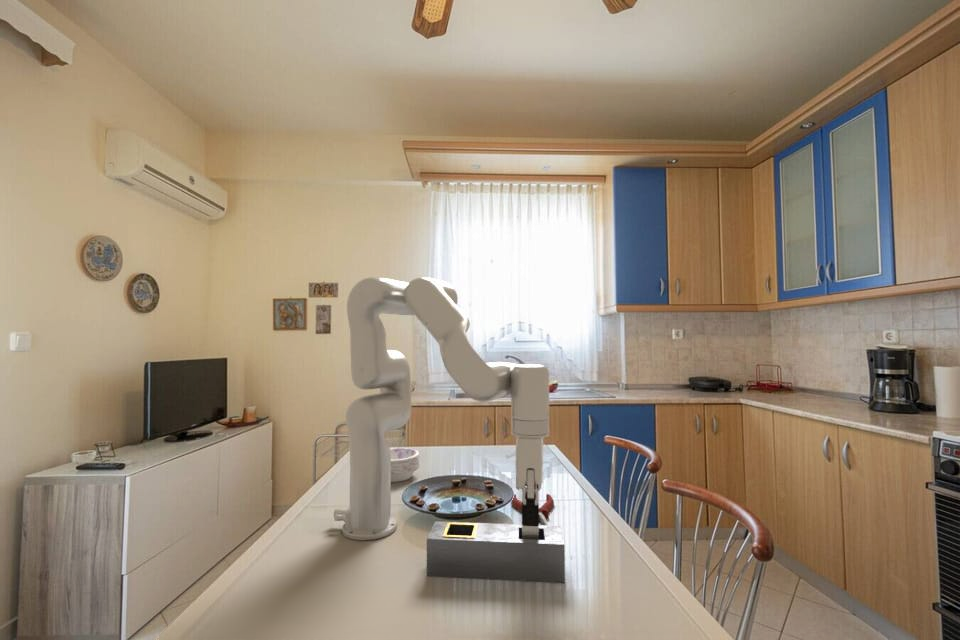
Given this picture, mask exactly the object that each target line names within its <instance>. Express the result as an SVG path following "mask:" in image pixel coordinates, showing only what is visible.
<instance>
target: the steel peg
mask: <svg viewBox="0 0 960 640" xmlns="http://www.w3.org/2000/svg"><path fill="white" fill-rule="evenodd" d="M525 488H527V485H525ZM534 488H536V485H535V486H534ZM539 493H540V490H539V491H538V504H539V505H540V503H539V502H540V501H539V499H540V495H539ZM526 494H527V492H526ZM534 494H535V492H534ZM521 502H522V504H523V488H522V489H521ZM521 525H522V524H521ZM539 525H540V524H539ZM539 525H538V526H523V525H522V539H532V540H539Z"/></svg>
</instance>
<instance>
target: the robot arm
mask: <svg viewBox="0 0 960 640" xmlns="http://www.w3.org/2000/svg"><path fill="white" fill-rule="evenodd" d="M382 314H386V315H398V316H415V317H416V318H417V319H418V321H420V323H421V324H422V325H423V326H424V327H425V329H426V330H427V331H428V333H429V334H430V335H431V336H432V338H433V339H434V340H435V341H436V343H437V344H438V346H439V354H440V357H441V361H442V362H443V366H444V368H445V370H446V371H447V373H448V375H449V376H450V377H451V378H452V379H453V381H454V382H455V384H457V386H458V387H459V388H460V389H461V391H463V393H465V395H466V396H468V397H469V398H470V399H472V400H473V401H475V402H479V403H488V402H492V401H495V400H498V399H503V398H506V397H507V398H508V397H510V400H511V401H510V407H511V409H510V413H511V414H510V419H511V420H510V422H511V423H510V431H511V432H510V434H511V436H513V437H516V439H515V489H516V490H517V491H520V490H522V488H523V504H522V512H521V525H523V526H538V525H540V521H539V508H540V503H539V504H538V491H539V492H540V490H542V483H543V467H544V438H547V437H549V436H550V371H549V369H548V367H547V366H546V365H543V364H539V363H538V364H537V363H520V364H517V363H511V362H505V361H495V362H493V361H492V362H485V359H483V358H482V357H481V356H480V354H478V353H477V351H476V350H475V348H474V347H473V346H472V344H471V343H470V341H469V340H468V336H467V332H468V331H469V329H470V326H471V325H470V324H471V322H470V319H469V317H467V316H466V315H465V313H464V312H463V311H462V310H461V309H460V308H459V306H458V294H457V291H456V290H455V288H454V287H453V286H452V285H451V284H450V283H449V282H447V281H444V280H440V279H435V278H431V277H423V276H422V277H421V276H419V277H416V278H414V279H412V280H410V281H409V282H406V281H401V280H395V279H392V278H386V277H381V276H380V277H379V276H378V277H376V276H371V277H365V278H364V279H363V278H362V279H361V280H360V281H358V282H357V283H355V285H353V287H352V288H351V290H350V292H349V294H348V297H347V302H346V315H347V321H348V326H349V327H348V328H349V335H350V336H349V337H350V341H349V342H350V344H349V348H350V373H351V379H352V382H353V385H354V386H355V387H356V388H358V389H360V390H364V391H365V390H374V389H375V390H376V389H379V393H373V394H369V395H363V396H360V397H358V398H356V399H354V400H353V401H352V402H351V403H350V405H348V408H347V409H346V413H345V424H346V429H347V433H348V440H349V441H348V443H349V507H347V509H344V508H334V511H333V518H334V521H335V522H339V521H340V522H342V521H343V522H344V523H343V525H342V529H341V530H342V534H343V536H345V538H348V539H350V540H355V541H371V540H377V539H380V538H385V537H387V536H389V535H391V534H392V533H394V532H395V530H396V529H397V527H398V520H397V519H396V517H394V516H393V515H391V509H392V507H391V505H392V504H391V500H392V499H391V495H392V494H391V493H392V492H391V483H392V482H391V452H390V449H391V448H390V444H389V441H388V439H387V437H386V434H385V433H386V432H391V431H394V430H396V429H398V428H399V429H400V428H401V427H403V426H405V425H406V424H407V422H408V421H409V419H410V417H411V414H412V387H411V386H412V383H411V379H412V378H411V369H410V365H409V362H408V359H407V357H406V356H405V355H404V354H403V353H401V352H400V351H399V350H396V349H387V348H388V347H387V333H386V328H385V325H384V322H383V321H382V320H381V318H380V315H382ZM525 485H527V488H525ZM535 485H536V488H534V486H535ZM526 492H527V494H526ZM534 492H535V494H534Z"/></svg>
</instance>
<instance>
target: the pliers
mask: <svg viewBox="0 0 960 640" xmlns="http://www.w3.org/2000/svg"><path fill="white" fill-rule="evenodd" d="M513 495H514V498H513V500H512V501H511V505H512V507H513V508H514V509H515V510H517V511H518V512H521V513H522V500H521V501H520V500H519V499H518V498H517V494H513ZM545 501H546V502H545V503H543V504H542V506H541V507H539V522H540V524H541V525H547V526H549V525H548V522H547V520H548V519H549V518H550V514H549V513H550V512H551V510H552V509H553V508H554V505H555V501H554V498H553V496H552V495H551V494H549V493H546V500H545Z"/></svg>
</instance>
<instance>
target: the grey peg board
mask: <svg viewBox="0 0 960 640" xmlns="http://www.w3.org/2000/svg"><path fill="white" fill-rule="evenodd" d="M547 525H548V524H547ZM547 525H542V524H541V525H540V524H539V540H532V539H522V523H521V524H517V523H492V522H490V523H489V522H464V521H463V522H462V521H460V522H459V521H439V520H438V521H436V520H435V521H434V523H433V524H432V528H431V529H430V531H429V533H428V534H427V535H428V536H427V538H426V577H435V578H449V579H450V578H454V579H455V578H456V579H469V580H470V579H473V580H474V579H475V580H490V581H491V580H494V581H495V580H496V581H509V582H510V581H511V582H513V581H514V582H530V583H531V582H535V583H553V584H565V583H566V566H565V565H566V563H565V562H566V561H565V560H566V559H565V558H566V556H565V555H566V554H565V553H566V551H565V550H566V549H565V548H566V547H565V540H564V535H563V530H562V526H561V525H548V526H547Z"/></svg>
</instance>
